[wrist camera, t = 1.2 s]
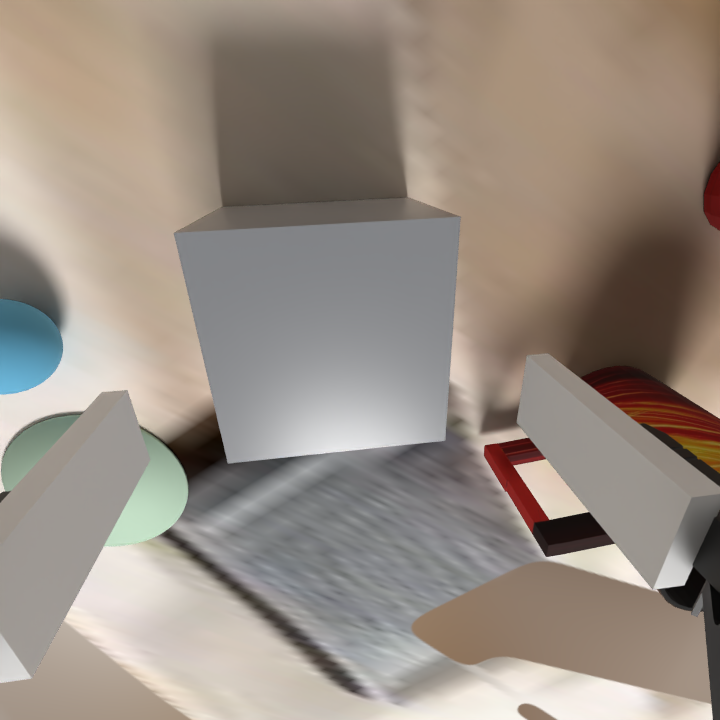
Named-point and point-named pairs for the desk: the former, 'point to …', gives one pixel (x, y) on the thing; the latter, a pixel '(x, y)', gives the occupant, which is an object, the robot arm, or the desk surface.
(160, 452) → the disc
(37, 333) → the ball
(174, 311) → the desk surface
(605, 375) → the mug
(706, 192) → the plastic cup
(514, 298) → the desk surface
